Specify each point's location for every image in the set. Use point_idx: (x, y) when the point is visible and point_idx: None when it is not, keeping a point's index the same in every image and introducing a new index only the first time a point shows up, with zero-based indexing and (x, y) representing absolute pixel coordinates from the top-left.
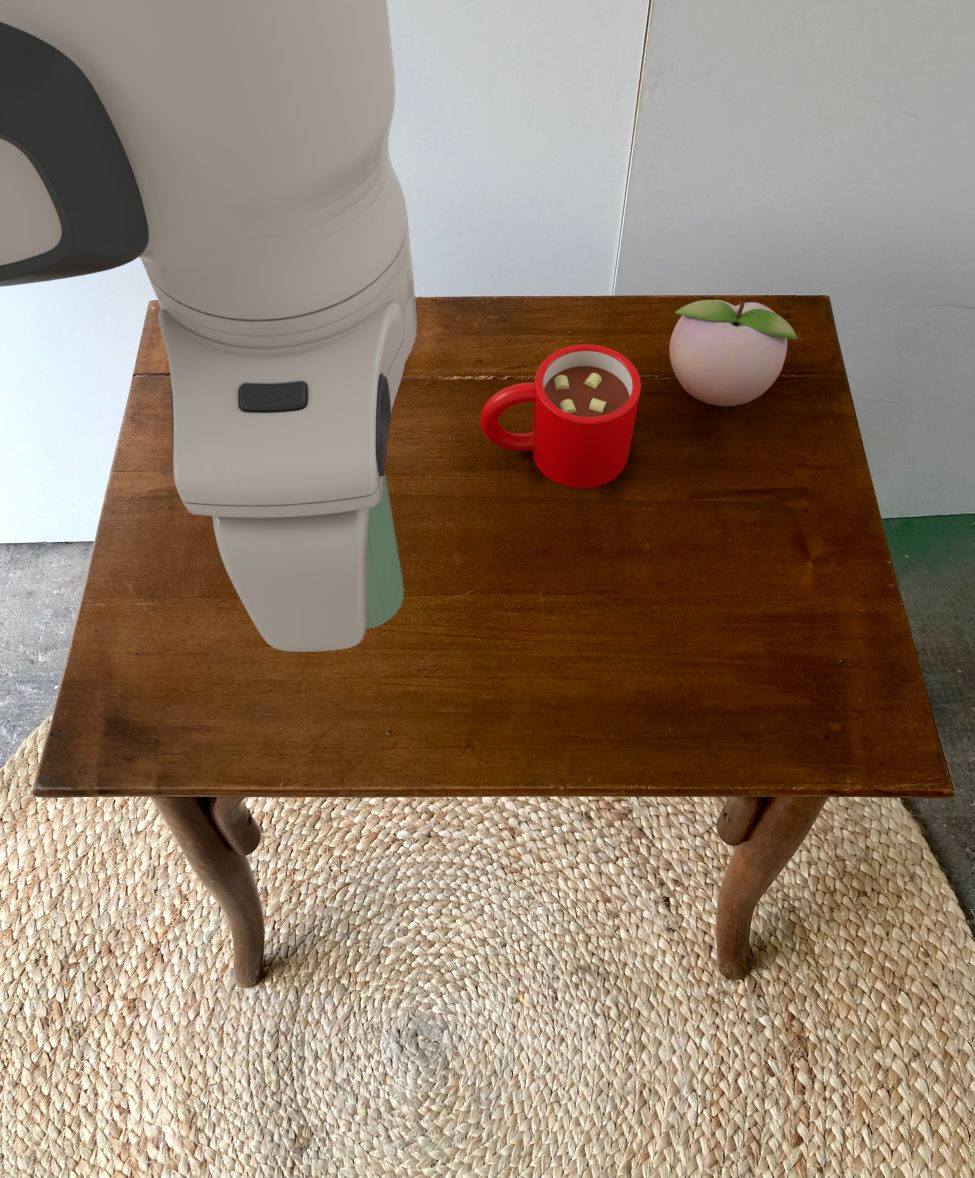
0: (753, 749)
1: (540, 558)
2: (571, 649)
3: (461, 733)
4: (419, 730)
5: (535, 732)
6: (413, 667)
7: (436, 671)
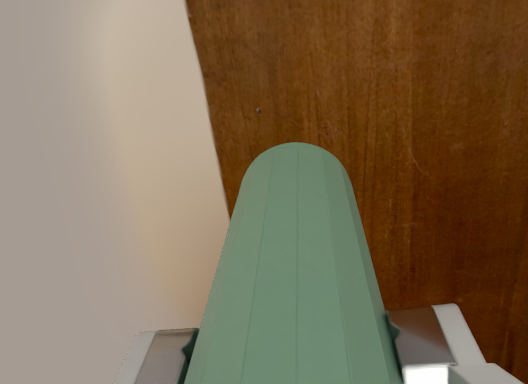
0: None
1: (452, 221)
2: None
3: None
4: (264, 137)
5: None
6: (328, 122)
7: (325, 144)
